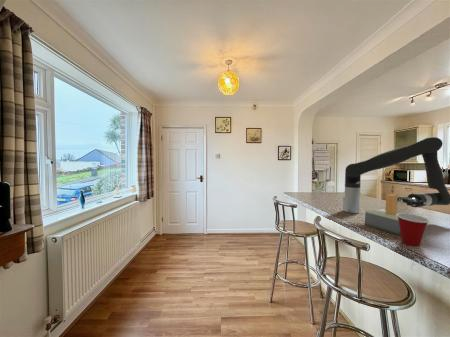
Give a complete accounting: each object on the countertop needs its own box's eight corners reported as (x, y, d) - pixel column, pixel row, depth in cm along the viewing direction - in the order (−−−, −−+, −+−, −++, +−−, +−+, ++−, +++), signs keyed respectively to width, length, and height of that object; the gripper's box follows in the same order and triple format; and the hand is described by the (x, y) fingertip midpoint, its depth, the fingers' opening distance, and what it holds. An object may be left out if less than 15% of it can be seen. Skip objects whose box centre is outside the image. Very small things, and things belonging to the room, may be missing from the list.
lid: (365, 214, 122) (366, 192, 121) (383, 213, 126) (384, 191, 125) (399, 224, 105) (400, 198, 104) (419, 221, 109) (420, 197, 108)
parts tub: (364, 224, 122) (365, 212, 122) (383, 222, 126) (383, 210, 126) (399, 235, 105) (399, 221, 105) (418, 232, 109) (419, 218, 109)
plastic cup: (415, 250, 88) (417, 220, 87) (389, 240, 98) (390, 214, 98) (435, 247, 91) (436, 219, 90) (407, 238, 101) (408, 212, 101)
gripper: (405, 191, 128) (385, 192, 123) (435, 195, 115) (414, 196, 110) (404, 204, 129) (384, 205, 123) (434, 209, 115) (413, 211, 110)
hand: (398, 201), depth 117 cm, fingers open, 8 cm apart
